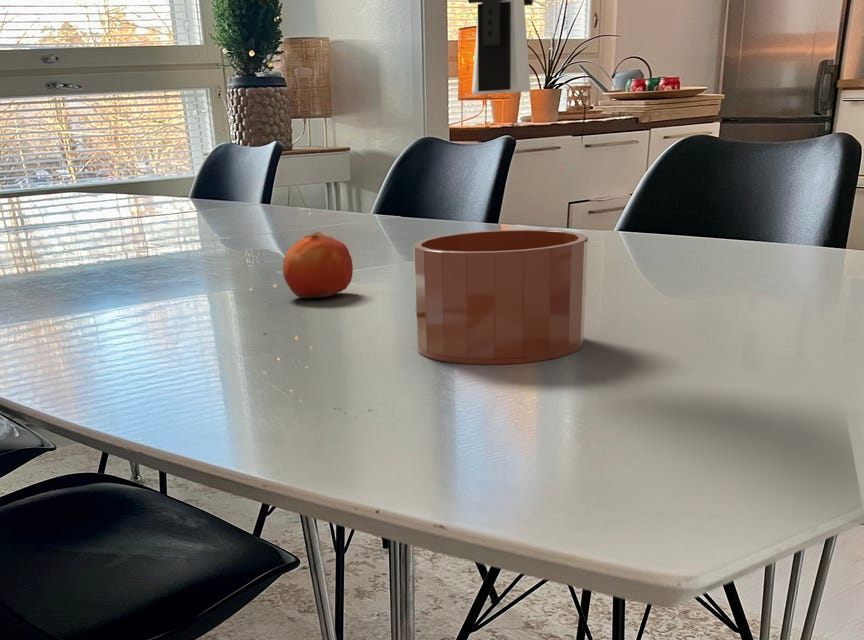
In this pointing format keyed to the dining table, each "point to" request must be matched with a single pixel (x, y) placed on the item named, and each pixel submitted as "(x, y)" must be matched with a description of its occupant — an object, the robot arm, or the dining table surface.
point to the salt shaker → (518, 53)
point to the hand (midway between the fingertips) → (501, 89)
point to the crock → (500, 295)
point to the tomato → (317, 266)
